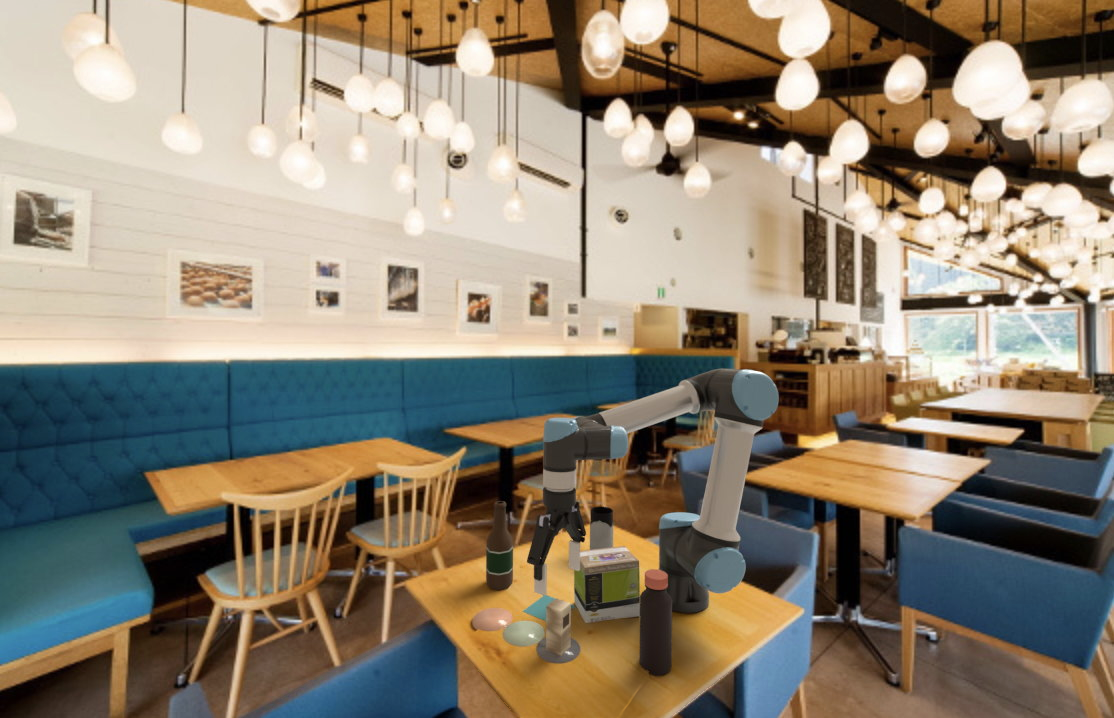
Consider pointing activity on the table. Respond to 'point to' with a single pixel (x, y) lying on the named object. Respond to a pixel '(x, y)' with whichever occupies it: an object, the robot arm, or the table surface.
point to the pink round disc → (492, 619)
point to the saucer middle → (523, 633)
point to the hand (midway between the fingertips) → (558, 580)
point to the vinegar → (656, 624)
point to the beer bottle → (499, 551)
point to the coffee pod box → (607, 584)
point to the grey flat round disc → (554, 658)
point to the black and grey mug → (601, 528)
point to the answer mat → (540, 607)
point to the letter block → (558, 626)
